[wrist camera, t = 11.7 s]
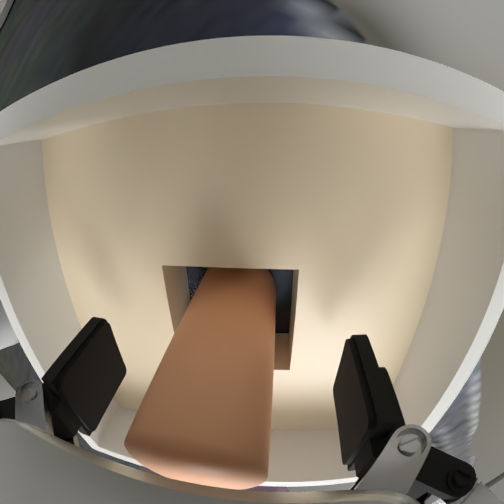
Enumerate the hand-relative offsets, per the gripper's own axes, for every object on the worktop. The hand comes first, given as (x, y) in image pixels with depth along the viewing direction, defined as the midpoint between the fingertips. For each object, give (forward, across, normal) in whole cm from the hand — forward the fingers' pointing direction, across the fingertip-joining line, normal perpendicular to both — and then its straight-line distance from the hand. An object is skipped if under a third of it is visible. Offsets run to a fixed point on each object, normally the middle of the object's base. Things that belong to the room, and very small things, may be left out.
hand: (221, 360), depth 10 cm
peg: (+5, 0, 0) cm, 5 cm away
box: (+5, 0, 0) cm, 5 cm away
